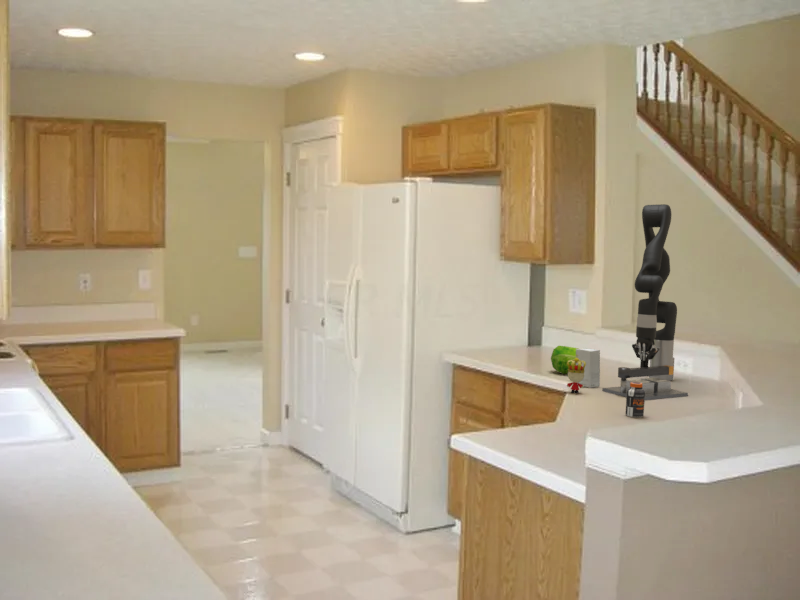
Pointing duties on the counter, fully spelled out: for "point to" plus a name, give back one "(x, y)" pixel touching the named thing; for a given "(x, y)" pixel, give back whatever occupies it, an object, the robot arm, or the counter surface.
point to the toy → (575, 374)
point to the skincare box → (590, 366)
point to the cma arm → (645, 371)
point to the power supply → (646, 386)
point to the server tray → (648, 396)
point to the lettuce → (562, 358)
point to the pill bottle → (635, 400)
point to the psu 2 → (659, 384)
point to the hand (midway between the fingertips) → (644, 369)
